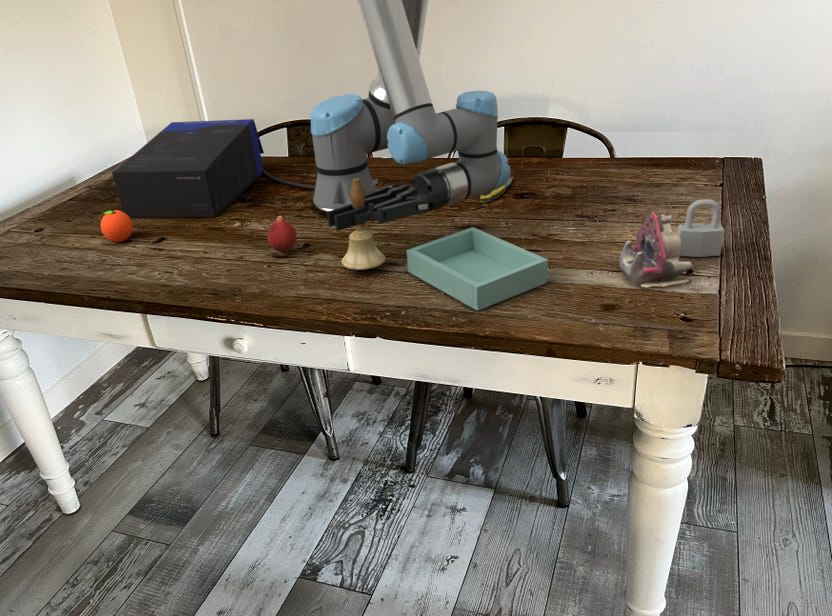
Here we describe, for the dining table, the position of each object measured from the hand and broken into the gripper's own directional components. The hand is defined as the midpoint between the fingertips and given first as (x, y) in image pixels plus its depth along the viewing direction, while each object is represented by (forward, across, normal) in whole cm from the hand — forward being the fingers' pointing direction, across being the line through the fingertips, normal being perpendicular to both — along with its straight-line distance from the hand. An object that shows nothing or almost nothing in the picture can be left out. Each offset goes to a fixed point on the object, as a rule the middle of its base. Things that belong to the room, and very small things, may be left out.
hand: (332, 221), depth 134 cm
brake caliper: (-41, -36, -12) cm, 56 cm away
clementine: (+28, +52, -11) cm, 60 cm away
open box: (-19, -17, -11) cm, 28 cm away
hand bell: (-6, 0, -10) cm, 11 cm away
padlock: (-54, -36, -12) cm, 66 cm away
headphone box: (+2, +70, -11) cm, 71 cm away
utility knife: (-51, +14, -11) cm, 54 cm away
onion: (+3, +18, -11) cm, 21 cm away
